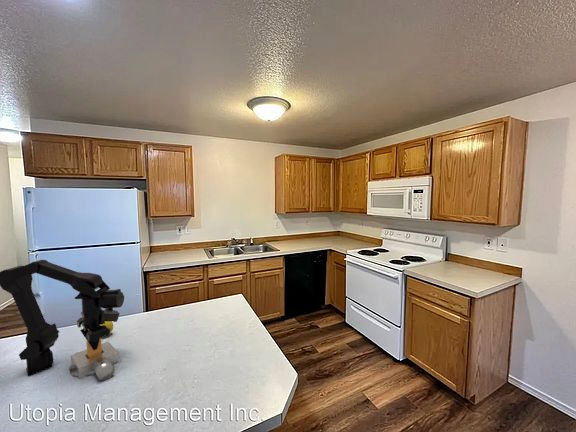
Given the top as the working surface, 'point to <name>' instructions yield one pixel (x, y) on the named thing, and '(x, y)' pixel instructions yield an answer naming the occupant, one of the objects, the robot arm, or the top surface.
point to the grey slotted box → (95, 363)
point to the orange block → (93, 352)
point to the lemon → (108, 325)
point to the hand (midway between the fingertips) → (94, 348)
